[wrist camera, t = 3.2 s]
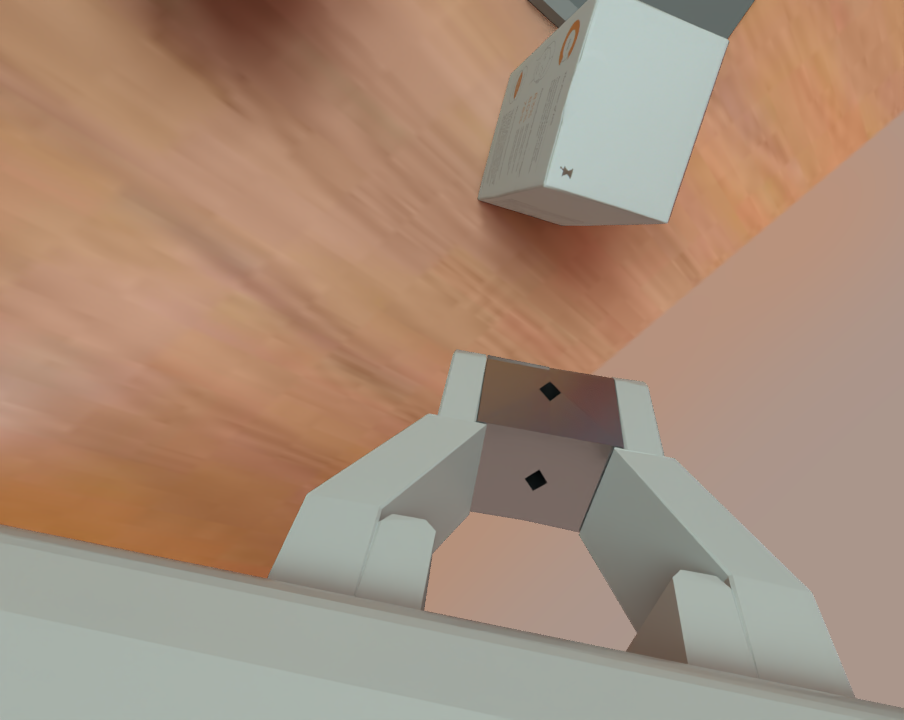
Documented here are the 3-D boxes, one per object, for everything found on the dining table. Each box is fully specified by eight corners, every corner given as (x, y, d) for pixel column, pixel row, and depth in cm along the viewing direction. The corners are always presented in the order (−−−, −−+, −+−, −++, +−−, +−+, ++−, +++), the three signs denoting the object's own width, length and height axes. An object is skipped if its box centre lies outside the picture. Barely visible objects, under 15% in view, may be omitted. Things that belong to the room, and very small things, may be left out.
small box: (563, 227, 37) (669, 228, 24) (475, 200, 35) (539, 187, 23) (601, 102, 35) (735, 36, 23) (510, 69, 34) (599, -21, 21)
